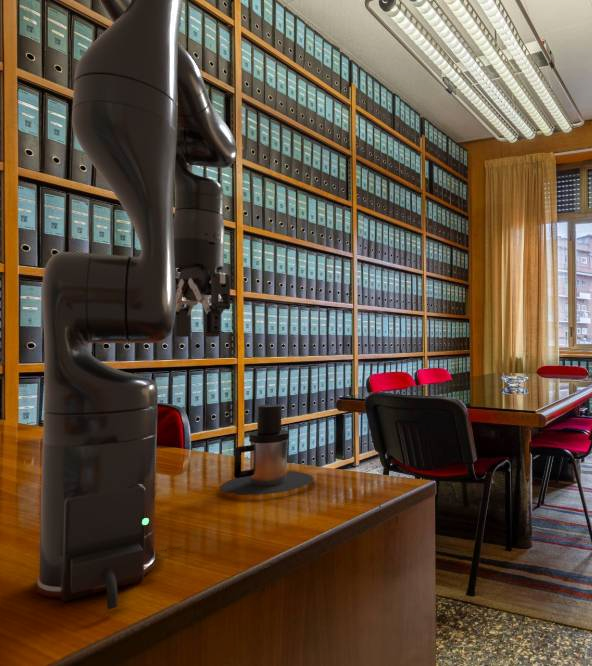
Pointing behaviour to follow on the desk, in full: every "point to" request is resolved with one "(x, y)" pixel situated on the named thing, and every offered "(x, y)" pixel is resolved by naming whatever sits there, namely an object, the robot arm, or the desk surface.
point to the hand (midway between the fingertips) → (196, 336)
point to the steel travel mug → (265, 450)
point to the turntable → (245, 488)
